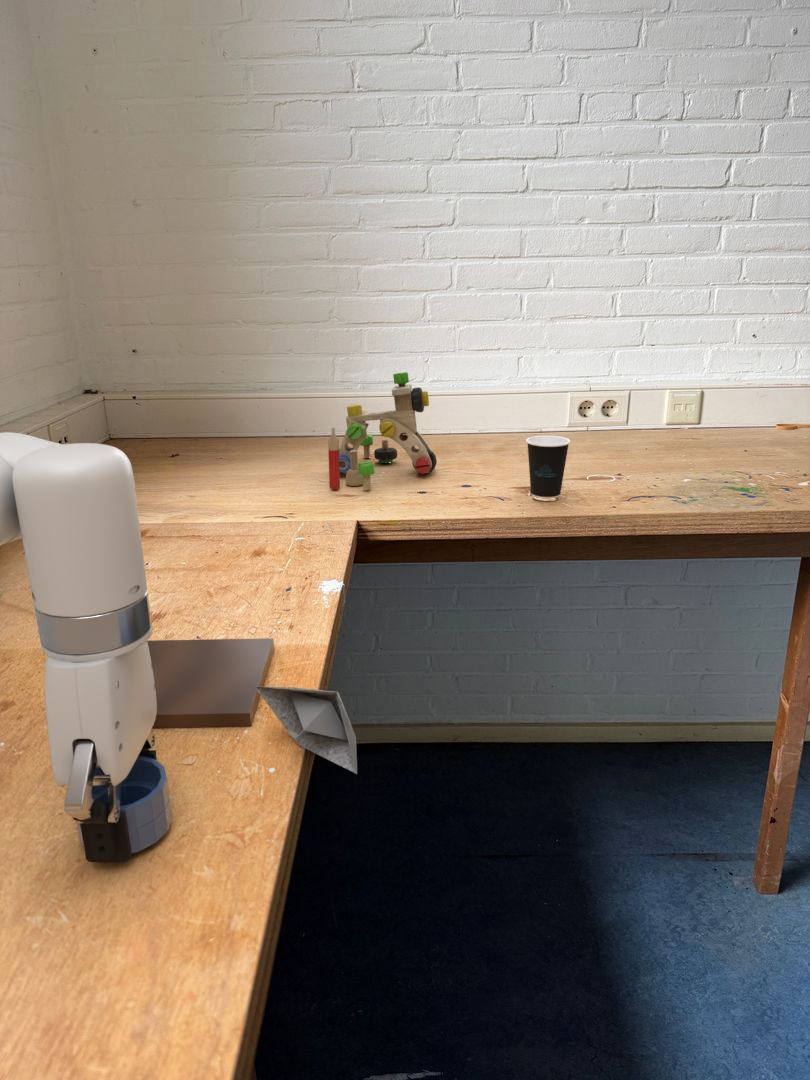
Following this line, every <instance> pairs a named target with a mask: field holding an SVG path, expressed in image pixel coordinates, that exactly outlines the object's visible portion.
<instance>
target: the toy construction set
mask: <svg viewBox="0 0 810 1080" xmlns="http://www.w3.org/2000/svg"><path fill="white" fill-rule="evenodd" d="M392 377H393V384H394V387H392V389H391V396H392V397H393V401H394V409H395V410H386V411H385V410H384V411H377V412H368V413H363V407H362V404H352V405H348V406H347V407H346V410H347V416H346V417H345V423H346V430H345V433H344V436H343V439H342V441H341V444H340V439H339V438H338V436H337V434H336V426H332V427H331V436H330V437H329V439H328V440H327V443H328V447H327V449H328V450H327V451H328V479H329V480H328V481H329V482H328V483H329V489H330V490H333V491H334V490H339V489H340V488H341V478H340V477H341V476H340V475H341V474H340V473H343V474H345V484H346V485H347V486H350V487H357V486H358V487H359V486H362V490H364V491H370V490H371V489H372V487H371V482H372V481H371V476H373V475H374V474H375V464H374V462H372V461H362V462H358V461H359V458H358V457H359V456H358V453H359V452H358V450H359V448H360V446H361V447H362V448H363V449H362V450H363V458H364V459H365V458H369V457H370V458H371V446H372V445H374V436H373V435H372V434H368V432H367V429H368V427H369V425H370V423H368V422H369V421H379V426H378V427H379V428H378V429H379V433H380V434H381V437H384V438H382V439H381V447H379V448H376V449H375V450H374V451H373V453H374V454H373V455H374V456H373V457H374V459H375V460H378V463H379V462H381V463H385V464H387V463H389V462H392V461H394V460H396V459H397V458H398V450H397V449H396V448H394V447H389V439H391V440H393V441H394V442H395V443H397V444H398V445H399V446H400V447H401V448H402V449H403V450H404V451H405V453H406V454H407V455H408V457H409V458H410V460H411V462H412V467H413V469H414V470H415V471H416V472H417V473H419V474H422V475H423V474H424V475H426V474H425V473H427V472H430V473H432V472H433V471H434V470H435V468H436V466H437V463H438V460H437V456H436V454H435V453H434V452H433V451H432V449H431V446H430V445H429V443H428V442H427V441H426V439H425V438H424V437H423V435H422V434H421V433H420V432H419V431H418V428H417V427H418V426H417V417H416V413H423V412H424V411H425V407H429V406H430V399H429V398H430V397H429V392H428V391H427V390H425V391H423V389H422V387H413V385H412V383H409V382H410V380H409V379H410V378H409V373H408V372H407V371H403V372H395V373H393V375H392ZM387 438H389V439H387ZM348 444H350V445H352V447H351V446H349V445H348ZM417 447H418V448H417ZM381 463H380V464H381ZM392 463H393V462H392ZM427 474H428V473H427Z"/></svg>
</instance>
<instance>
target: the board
mask: <svg viewBox="0 0 810 1080" xmlns="http://www.w3.org/2000/svg"><path fill="white" fill-rule="evenodd" d="M274 641H275V639H274V638H272V637H270V638H269V637H268V638H267V637H266V638H223V639H222V638H215V639H213V638H212V639H210V638H209V639H208V638H207V639H158V640H157V639H155V640H154V639H153V640H147V642H148V647H149V652H150V657H151V663H152V669H153V675H154V682H155V690H156V702H157V714H156V719H155V722H154V725H153V727H152V729H175V728H176V729H178V728H180V729H181V728H229V727H230V728H231V727H234V728H235V727H236V728H237V727H252V724H253V721H254V718H255V714H256V712H257V707H258V705H259V701H260V698H261V695H260V693H259V692H258V691H257V689H256V688H255V687H254V686H260V687H264V685H265V681H266V678H267V675H268V672H269V669H270V665H271V662H272V658H273V655H274V652H275V642H274Z"/></svg>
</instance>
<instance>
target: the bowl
mask: <svg viewBox="0 0 810 1080" xmlns="http://www.w3.org/2000/svg"><path fill="white" fill-rule="evenodd" d="M94 776H110V775H105V773H104V772H103V770H102V769H101V768H96V770H95V775H94ZM108 787H109V786H103V787H92V798H93V799H94V801H96V802H99V801H101V802H103V803H106V804H108ZM120 812H122V813H126V818H127V825H128V832H129V838H130V845H131V852H132V854H135V853H139V852H141V851H143V850H145V849H146V848H148V847H150V846H152V845H154V844H156V843H157V842H158V841H159V840H160V839H162V838H163V836H164V835H165V834H166V833H167V832H168V831H169V828H170V826H171V823H172V821H173V815H172V814H173V813H172V806H171V797H170V788H169V782H168V774H167V770H166V767H165V766H164V764H162V763H161V762H159V761H158V759H157V760H155V759H152V758H148V757H144V756H138V757H137V759H136V761H135V763H134V765H133V767H132V768H131V770H130V772H129V774H128V775H127V777H126V778H125V779H124V780H123V781H122V782H121V800H120ZM75 825H76V831H77V835H78V841H79V844H80V845H81V846H82V847H83V848H84V844H83V838H82V832H81V826H80V823H77V822H76V821H75Z"/></svg>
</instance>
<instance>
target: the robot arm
mask: <svg viewBox="0 0 810 1080" xmlns="http://www.w3.org/2000/svg"><path fill="white" fill-rule="evenodd" d="M141 533H142V532H141V524H140V517H139V508H138V500H137V492H136V483H135V476H134V472H133V466H132V463H131V460H130V459H129V457H128V456H127V455H126V454H125V453H124V451H122V450H121V449H119V448H118V447H115V446H112V445H109V444H104V443H95V442H79V443H78V442H77V443H75V442H74V443H58V442H55V441H50V440H47V439H43V438H40V437H36V436H33V435H29V434H25V433H20V432H10V431H9V432H8V431H6V432H5V431H4V432H3V431H2V432H0V546H2V545H6V544H9V543H11V542H14V541H17V540H20V539H22V545H23V551H24V552H23V553H24V557H25V563H26V568H27V575H28V579H29V586H30V590H31V597H32V602H33V603H32V604H33V606H34V607H33V609H34V614H35V619H36V624H37V630H38V636H39V641H40V647H41V651H42V653H44V655H46V656H47V657H46V659H45V662H44V703H45V704H44V705H45V716H46V717H45V718H46V728H47V729H46V730H47V737H48V746H49V754H50V761H51V766H52V767H51V768H52V774H53V778H54V779H53V780H54V782H55V784H56V785H57V786H58V787H61V788H65V787H67V790H66V795H65V799H64V804H63V808H64V809H63V810H64V813H65V814H66V815H67V816H70V817H71V818H72V819H73V820H74V821H75V823H76V822H77V823H80V826H81V832H82V838H83V844H84V847H83V849H84V855H85V860H86V861H87V862H89V863H127V862H129V861H130V858H131V856H132V854H133V853H132V852H131V845H130V838H129V832H128V825H127V818H126V813H122V812H120V800H121V782H122V781H123V780H124V779H125V778H126V777H127V775H128V774H129V772H130V770H131V768H132V767H133V765H134V763H135V761H136V759H137V757H138V756H144V757H148V758H152V759H155V760H157V761H158V758H157V750H156V749H154V748H155V745H156V733H155V732H154V730H153V728H152V727H153V725H154V722H155V719H156V714H157V702H156V690H155V682H154V675H153V669H152V663H151V657H150V652H149V647H148V642H147V641H149V639H150V638H151V637H152V635H153V631H154V630H153V623H152V614H151V607H150V606H151V605H150V598H149V590H148V583H147V572H146V565H145V557H144V549H143V541H142V534H141ZM96 768H101V769H102V770H103V772H104V773H105V775H110V776H94V775H95V770H96ZM103 786H109V787H108V804H106V803H103V802H101V801H99V802H96V801H94V799H93V798H92V787H103Z"/></svg>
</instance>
